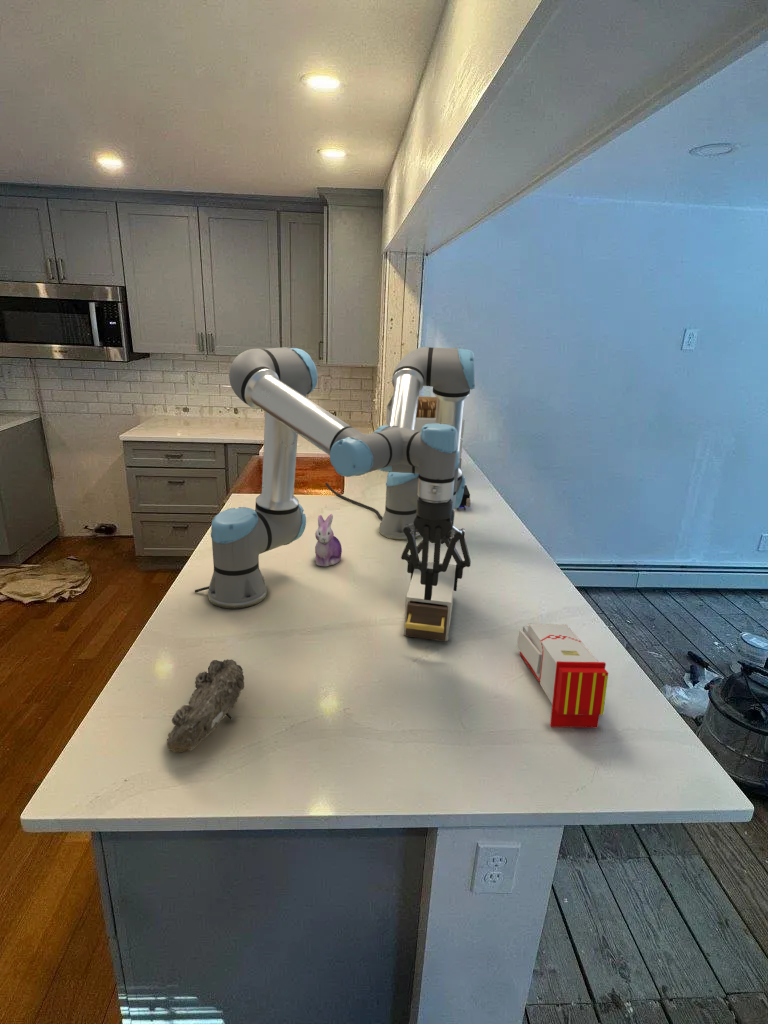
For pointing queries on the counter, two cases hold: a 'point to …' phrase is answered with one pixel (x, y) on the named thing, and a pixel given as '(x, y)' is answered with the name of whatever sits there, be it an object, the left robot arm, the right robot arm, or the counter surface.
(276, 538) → the left robot arm
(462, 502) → the figurine character
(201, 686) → the fossil
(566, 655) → the toy
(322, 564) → the figurine
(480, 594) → the counter surface
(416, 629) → the drawer
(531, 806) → the counter surface
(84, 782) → the counter surface
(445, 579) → the cabinet
